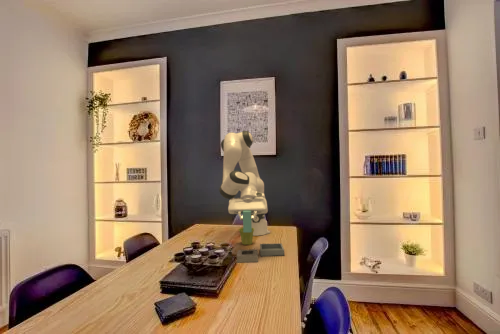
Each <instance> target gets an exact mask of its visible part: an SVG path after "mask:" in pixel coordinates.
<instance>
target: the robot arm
mask: <svg viewBox="0 0 500 334" xmlns="http://www.w3.org/2000/svg"><path fill="white" fill-rule="evenodd" d="M253 143H254V138H253V135H252V133H250V131H249V130H243V131H242V132H237V133H236V132H228V133H226V135H224V139H222V140H221V141H220V147H221V150H222V152H223V161H222V162H223V163H222V164H223V165H222V176H221V180H222V181H221V184H220V186H219V188H218V190H219V193H220V195H221V196H222V197H223V198H224V199H225V200H229V201H228V207H227V210H228V214H230V215H238V217H239V220H240V221H243V211H251V224H252V228H254V232H253V237H255V236H258V237H259V236H264V235H267V234H271V231H270V230H269V229H268V221H267V220H266V219H265V217H266V216H265V215H266V214H267V213H268V211H269V209H268V201H267V199H266V196H265V182H264V181H263V179H262V178H261V177H260V174H259V171H258V167H257V164H256V161H255V158H254V155H253V152H252V150H251V147H252V145H253ZM237 164H239V168H240V170H241V171H240V170H235V168H236V166H237ZM239 191H240V196H239V197H236V196H237V195H238V193H239Z"/></svg>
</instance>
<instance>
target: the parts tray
mask: <svg viewBox="0 0 500 334" xmlns="http://www.w3.org/2000/svg"><path fill="white" fill-rule="evenodd" d="M259 252H260V253H259V254H260V255H259V256H260V257H285V249H284V246H283V243H279V242H277V243H259Z"/></svg>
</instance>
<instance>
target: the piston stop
mask: <svg viewBox="0 0 500 334" xmlns="http://www.w3.org/2000/svg"><path fill="white" fill-rule="evenodd" d="M242 216H243V220H242V226H243V227H242V228H243V233H244V232H252V224H251V211H243V214H242Z"/></svg>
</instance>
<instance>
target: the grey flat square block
mask: <svg viewBox="0 0 500 334" xmlns="http://www.w3.org/2000/svg"><path fill="white" fill-rule="evenodd" d="M236 253H237V254H236V264H240V263H241V264H242V263H259V256H258V255H259V253H258V249H254V248H253V249H237V252H236Z"/></svg>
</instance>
